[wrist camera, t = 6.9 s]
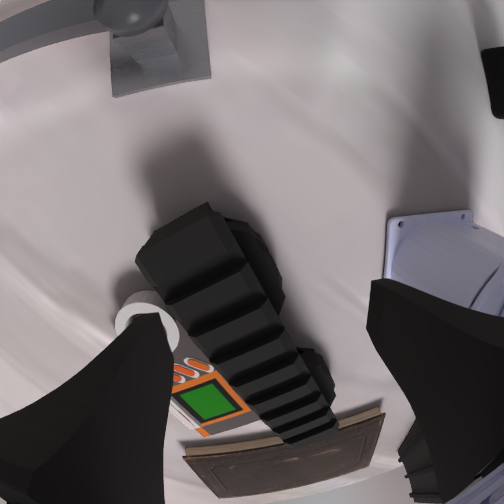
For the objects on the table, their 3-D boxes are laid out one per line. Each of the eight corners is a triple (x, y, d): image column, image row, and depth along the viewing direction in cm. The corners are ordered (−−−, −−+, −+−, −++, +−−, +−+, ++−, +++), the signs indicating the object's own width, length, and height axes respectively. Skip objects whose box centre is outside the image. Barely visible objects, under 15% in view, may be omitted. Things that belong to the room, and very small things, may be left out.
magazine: (447, 403, 28) (468, 491, 18) (407, 423, 38) (424, 493, 28) (426, 413, 28) (448, 505, 18) (389, 430, 37) (406, 502, 27)
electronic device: (161, 288, 17) (268, 422, 22) (170, 269, 20) (264, 399, 25) (89, 326, 18) (202, 442, 22) (103, 307, 20) (203, 420, 25)
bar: (163, 34, 9) (155, 19, 8) (-58, 100, 7) (-75, 101, 6) (173, -17, 8) (167, -36, 6) (-50, 59, 6) (-66, 58, 4)
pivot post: (203, -1, 13) (199, -43, 8) (211, 78, 15) (207, 52, 10) (113, 19, 12) (82, -12, 7) (115, 97, 14) (79, 84, 10)
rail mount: (337, 387, 25) (353, 425, 21) (277, 413, 26) (286, 452, 21) (233, 184, 18) (239, 198, 13) (146, 232, 18) (123, 262, 13)
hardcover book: (183, 442, 27) (182, 458, 25) (378, 400, 28) (385, 414, 26) (218, 488, 33) (219, 499, 31) (363, 456, 34) (368, 467, 32)
